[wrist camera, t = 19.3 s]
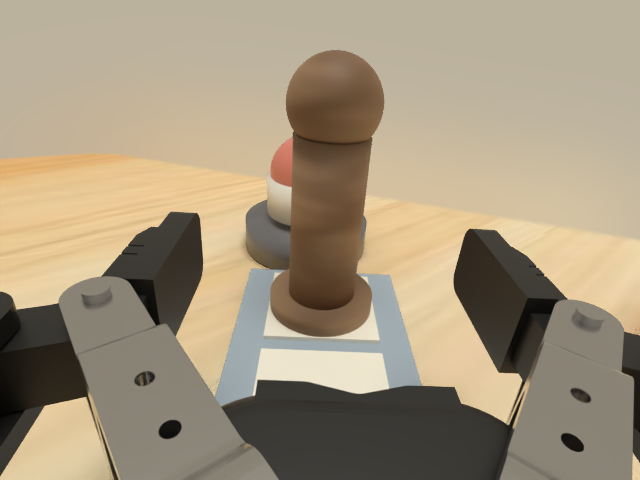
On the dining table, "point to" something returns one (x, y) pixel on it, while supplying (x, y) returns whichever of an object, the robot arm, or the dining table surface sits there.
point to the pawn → (328, 194)
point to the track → (317, 347)
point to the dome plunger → (280, 184)
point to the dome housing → (274, 238)
